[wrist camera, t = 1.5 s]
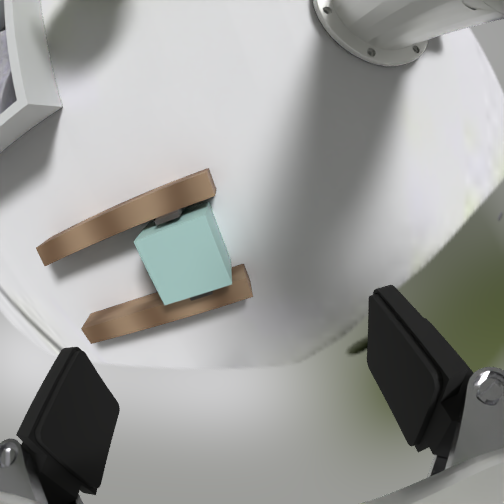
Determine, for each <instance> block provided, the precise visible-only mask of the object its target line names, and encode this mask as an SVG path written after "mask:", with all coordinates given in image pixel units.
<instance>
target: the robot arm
mask: <svg viewBox="0 0 504 504" xmlns="http://www.w3.org/2000/svg"><path fill="white" fill-rule="evenodd" d="M313 4H314V8H315V11H316V14H317V16H318V18H319V20H320V22H321V23H322V25H323V27H324V28H325V29H326V31H327V32H328V33H329V34H330V36H331V37H332V38H333V39H334V40H335V41H336V42H337V43H338V44H340V45H341V46H342V47H343V48H344V49H346V50H347V51H349V52H350V53H351V54H353V55H355V56H357V57H359V58H360V59H362V60H365V61H367V62H370V63H373V64H376V65H382V66H399V65H404V64H407V63H410V62H413V61H414V60H416V59H417V58H419V57H420V56H421V54H422V53H423V52H424V51H425V49H426V46H427V44H428V40H429V39H431V38H434V37H438V36H441V35H444V34H447V33H450V32H454V31H457V30H461V29H464V28H468V27H471V26H475V25H479V24H483V23H487V22H491V21H496V20H501V19H504V0H313ZM324 12H326V13H327V14H326V13H324ZM367 52H368V53H369V54H368V53H367ZM367 363H368V367H369V369H370V371H371V373H372V375H373V377H374V379H375V380H376V382H377V384H378V386H379V388H380V390H381V391H382V394H383V395H384V397H385V399H386V401H387V403H388V405H389V407H390V409H391V411H392V413H393V415H394V417H395V418H396V421H397V423H398V425H399V427H400V429H401V431H402V433H403V435H404V437H405V439H406V440H407V442H408V444H409V445H410V446H414V445H415V447H416V449H417V451H418V452H420V451H422V450H424V449H426V448H428V447H430V449H431V451H432V453H433V454H434V459H433V462H432V465H431V468H430V470H429V473H428V476H427V478H426V479H424V480H421V481H419V482H417V483H415V484H412V485H410V486H407V487H405V488H403V489H400V490H398V491H395V492H392V493H390V494H387V495H384V496H382V497H379V498H376V499H373V500H370V501H367V502H363V503H361V504H504V370H502V369H500V368H495V367H485V368H482V369H479V370H478V371H476V372H475V373H473V372H472V370H471V369H470V368H469V367H468V366H467V364H466V363H465V362H464V361H463V360H462V358H461V357H460V356H459V355H458V354H457V352H456V351H455V350H454V349H453V348H452V347H451V345H450V344H449V343H448V342H447V341H446V340H445V339H444V337H443V336H442V335H441V334H440V333H439V332H438V331H437V330H436V328H435V327H434V326H433V325H432V324H431V323H430V322H429V321H428V320H427V319H425V318H423V317H422V316H421V315H420V313H419V312H417V310H416V309H415V308H414V307H413V306H412V305H411V304H410V303H409V302H408V301H407V300H406V298H405V297H404V296H403V295H402V294H401V293H400V292H399V291H398V290H397V289H396V288H395V287H394V286H393V285H389V286H385V287H382V288H378V289H375V290H374V292H373V295H371V296H369V318H368V348H367ZM118 415H119V404H118V402H117V401H116V399H115V398H114V397H113V395H112V393H111V392H110V391H109V389H108V388H107V386H106V385H105V383H104V382H103V380H102V379H101V377H100V376H99V374H98V373H97V371H96V370H95V368H94V366H93V365H92V363H91V362H90V360H89V358H88V357H87V355H86V353H85V352H84V351H82V350H81V349H80V348H78V347H71V348H64V349H62V350H61V352H60V354H59V355H58V357H57V359H56V360H55V362H54V364H53V366H52V367H51V369H50V371H49V373H48V374H47V376H46V378H45V380H44V381H43V383H42V385H41V387H40V389H39V391H38V392H37V394H36V396H35V398H34V400H33V402H32V404H31V406H30V408H29V410H28V412H27V414H26V416H25V418H24V420H23V422H22V424H21V426H20V428H19V430H18V432H17V436H18V437H19V438H20V439H21V440H22V441H23V443H22V445H21V444H20V443H19V442H18V441H17V440H15V439H6V440H4V441H2V442H1V443H0V504H83V502H82V500H81V498H80V496H79V494H78V493H79V490H80V491H82V492H83V493H88V494H93V495H96V492H97V488H98V487H99V486H100V485H101V481H102V477H103V472H104V468H105V464H106V460H107V456H108V452H109V448H110V444H111V440H112V436H113V432H114V429H115V425H116V422H117V418H118Z"/></svg>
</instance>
